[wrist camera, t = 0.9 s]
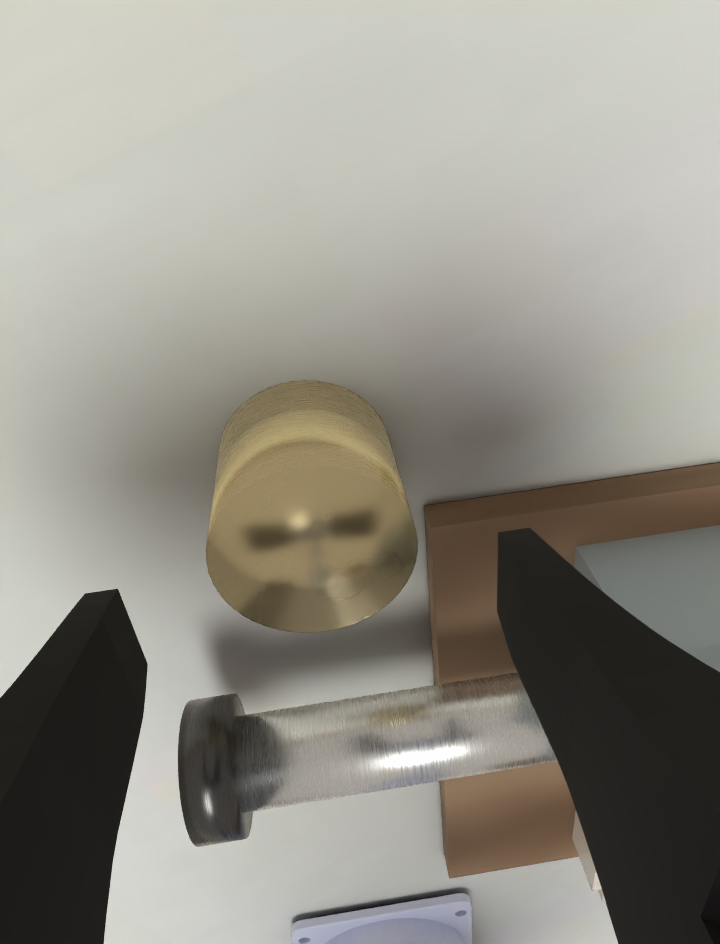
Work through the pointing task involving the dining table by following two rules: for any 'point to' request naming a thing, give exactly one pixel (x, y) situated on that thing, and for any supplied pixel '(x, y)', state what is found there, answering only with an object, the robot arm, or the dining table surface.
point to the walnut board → (486, 652)
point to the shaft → (347, 748)
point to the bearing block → (664, 584)
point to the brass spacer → (308, 511)
